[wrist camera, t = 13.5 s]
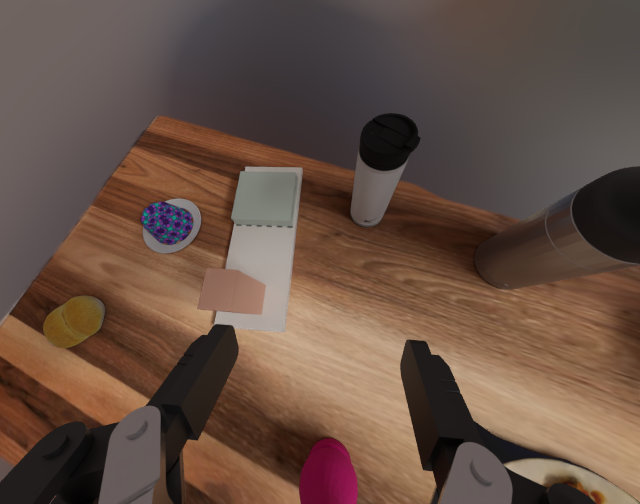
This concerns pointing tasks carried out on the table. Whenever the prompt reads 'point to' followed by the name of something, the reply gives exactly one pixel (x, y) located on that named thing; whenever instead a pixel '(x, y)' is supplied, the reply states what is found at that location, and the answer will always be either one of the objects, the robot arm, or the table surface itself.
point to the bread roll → (74, 321)
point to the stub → (231, 292)
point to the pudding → (170, 224)
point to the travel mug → (380, 165)
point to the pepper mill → (328, 475)
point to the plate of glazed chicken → (554, 470)
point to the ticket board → (265, 241)
